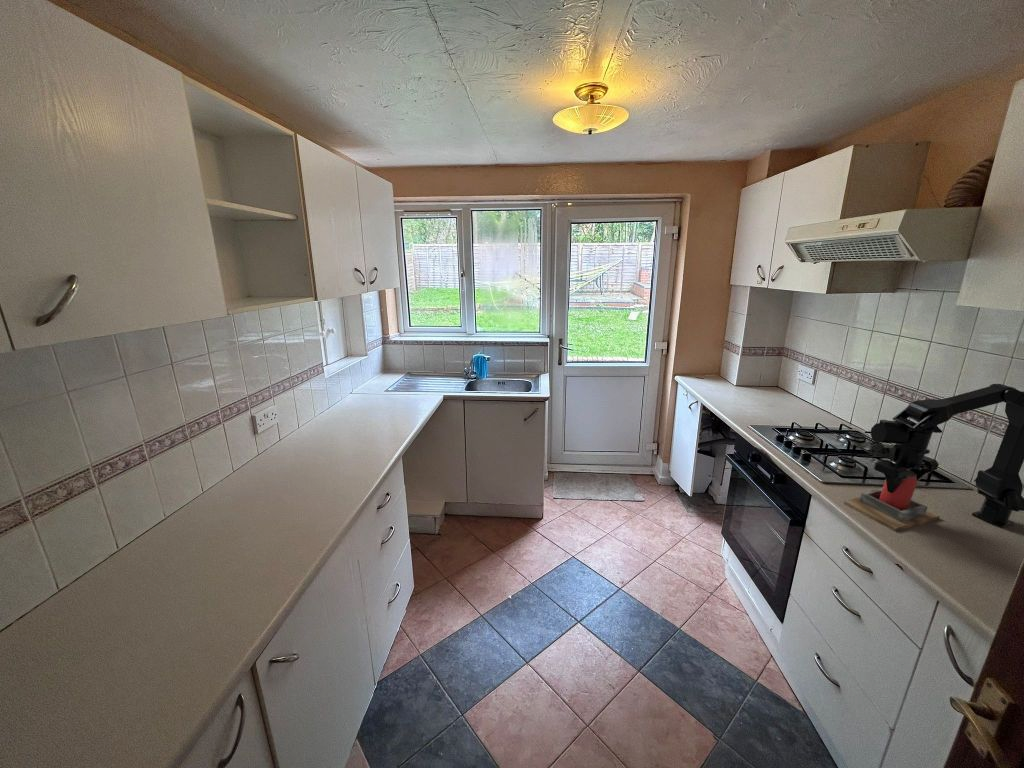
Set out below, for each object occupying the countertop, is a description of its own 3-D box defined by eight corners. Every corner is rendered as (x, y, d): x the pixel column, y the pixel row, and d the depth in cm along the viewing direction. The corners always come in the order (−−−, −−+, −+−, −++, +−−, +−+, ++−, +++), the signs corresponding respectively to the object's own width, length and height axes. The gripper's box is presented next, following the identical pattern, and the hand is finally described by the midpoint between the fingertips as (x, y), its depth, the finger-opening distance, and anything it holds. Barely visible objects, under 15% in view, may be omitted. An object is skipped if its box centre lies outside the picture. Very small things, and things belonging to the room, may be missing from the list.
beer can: (892, 499, 126) (903, 466, 122) (913, 512, 119) (926, 477, 116) (872, 500, 125) (883, 466, 122) (892, 512, 119) (904, 477, 116)
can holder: (885, 493, 132) (889, 482, 131) (939, 518, 120) (943, 507, 118) (843, 503, 126) (846, 492, 125) (895, 531, 114) (899, 519, 113)
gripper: (901, 429, 126) (887, 472, 131) (861, 436, 121) (847, 481, 125) (947, 444, 116) (929, 490, 121) (905, 453, 110) (888, 501, 115)
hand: (897, 490), depth 121 cm, fingers closed on beer can, 7 cm apart
